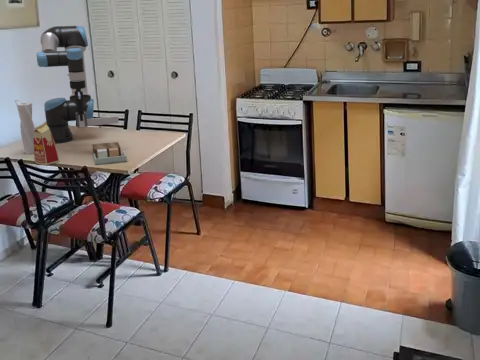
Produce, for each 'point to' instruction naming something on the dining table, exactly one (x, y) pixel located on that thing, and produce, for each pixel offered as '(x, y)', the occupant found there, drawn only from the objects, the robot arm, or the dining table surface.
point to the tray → (110, 159)
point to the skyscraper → (26, 126)
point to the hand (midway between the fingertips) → (81, 125)
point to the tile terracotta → (113, 152)
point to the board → (105, 147)
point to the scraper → (97, 120)
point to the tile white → (102, 153)
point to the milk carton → (44, 146)
